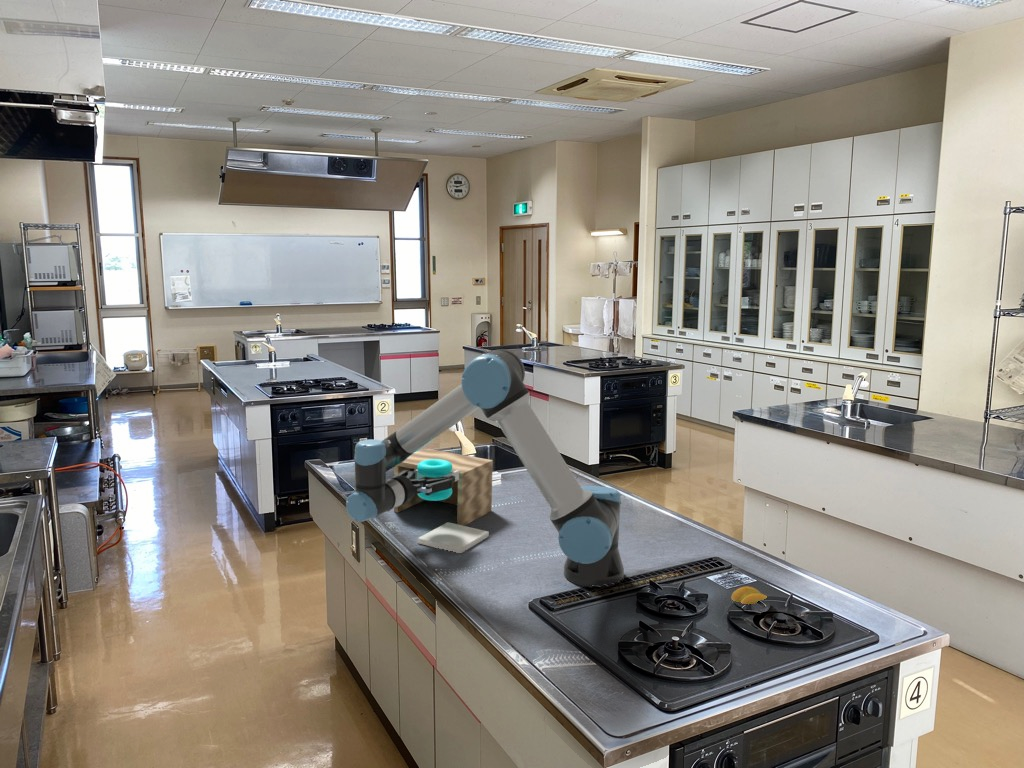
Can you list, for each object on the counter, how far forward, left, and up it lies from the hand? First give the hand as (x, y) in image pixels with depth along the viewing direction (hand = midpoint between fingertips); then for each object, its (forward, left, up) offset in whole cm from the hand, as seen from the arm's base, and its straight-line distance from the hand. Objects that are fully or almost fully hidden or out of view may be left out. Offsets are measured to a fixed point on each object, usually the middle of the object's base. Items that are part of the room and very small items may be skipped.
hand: (443, 472), depth 214 cm
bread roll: (-31, -82, -18) cm, 90 cm away
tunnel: (+16, +4, -17) cm, 24 cm away
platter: (-7, -5, -17) cm, 19 cm away
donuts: (-4, +1, -6) cm, 8 cm away
